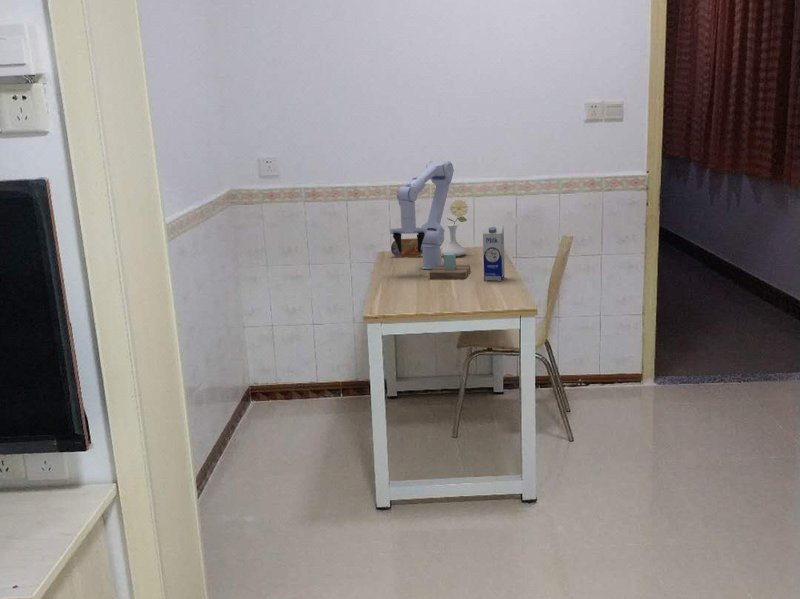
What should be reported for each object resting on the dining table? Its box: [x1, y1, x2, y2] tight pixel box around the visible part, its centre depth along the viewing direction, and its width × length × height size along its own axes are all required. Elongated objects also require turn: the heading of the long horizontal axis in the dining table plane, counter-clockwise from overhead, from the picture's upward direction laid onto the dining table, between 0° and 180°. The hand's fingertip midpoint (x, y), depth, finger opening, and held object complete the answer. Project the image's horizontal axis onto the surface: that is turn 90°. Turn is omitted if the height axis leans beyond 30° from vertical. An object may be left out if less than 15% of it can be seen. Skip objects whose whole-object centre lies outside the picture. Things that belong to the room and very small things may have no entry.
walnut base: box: [428, 264, 471, 280], centre depth 311 cm, size 14×14×2 cm
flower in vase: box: [440, 198, 469, 257], centre depth 347 cm, size 13×11×25 cm
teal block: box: [443, 253, 457, 270], centre depth 310 cm, size 4×4×6 cm
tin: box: [390, 237, 423, 259], centre depth 353 cm, size 15×3×8 cm, turn 77°
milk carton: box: [482, 225, 506, 281], centre depth 298 cm, size 7×7×20 cm
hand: (409, 251), depth 313 cm, fingers open, 7 cm apart
